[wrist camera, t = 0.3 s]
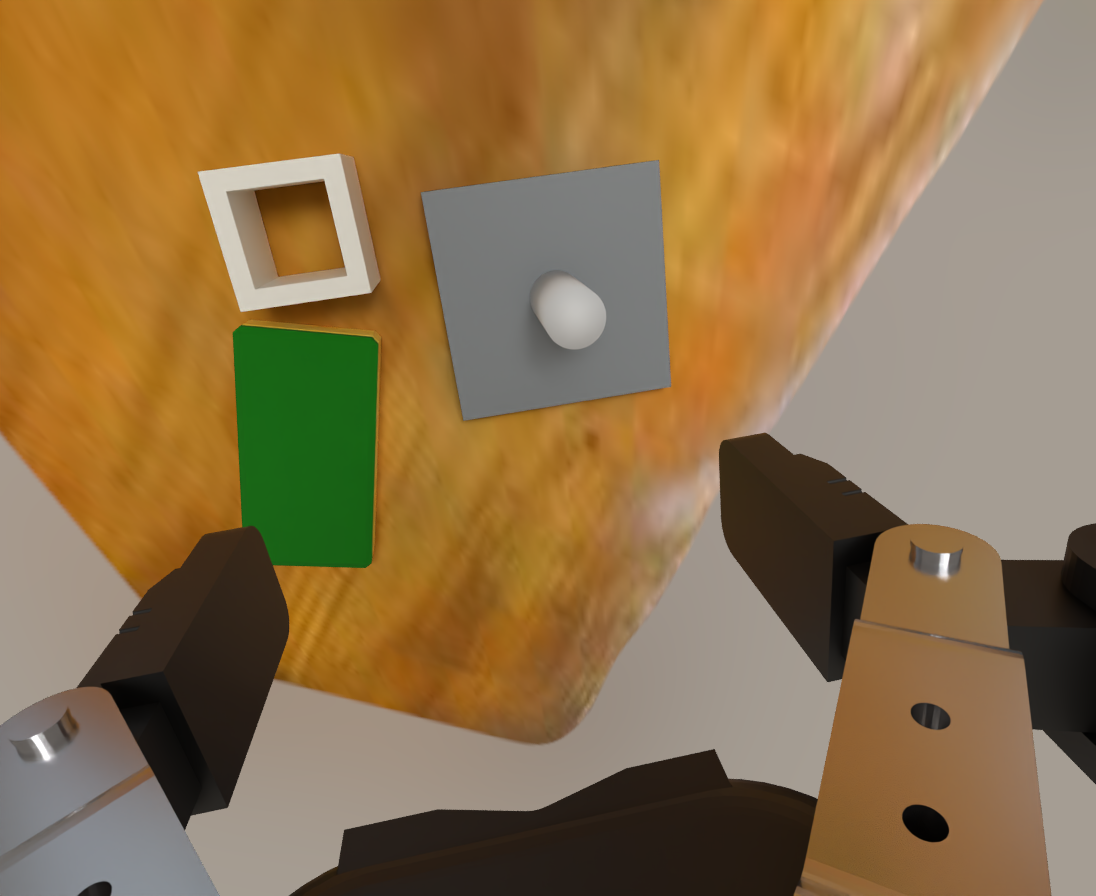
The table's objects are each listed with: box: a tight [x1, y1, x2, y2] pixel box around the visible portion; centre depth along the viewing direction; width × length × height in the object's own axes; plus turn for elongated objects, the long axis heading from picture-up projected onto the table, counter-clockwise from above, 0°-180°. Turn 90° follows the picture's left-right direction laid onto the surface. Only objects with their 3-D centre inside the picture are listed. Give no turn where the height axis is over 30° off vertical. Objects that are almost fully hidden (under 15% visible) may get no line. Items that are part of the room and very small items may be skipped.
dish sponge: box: [233, 319, 381, 568], centre depth 37 cm, size 7×14×2 cm, turn 172°
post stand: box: [421, 160, 671, 421], centre depth 33 cm, size 12×12×8 cm
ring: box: [198, 153, 381, 312], centre depth 31 cm, size 6×6×4 cm
